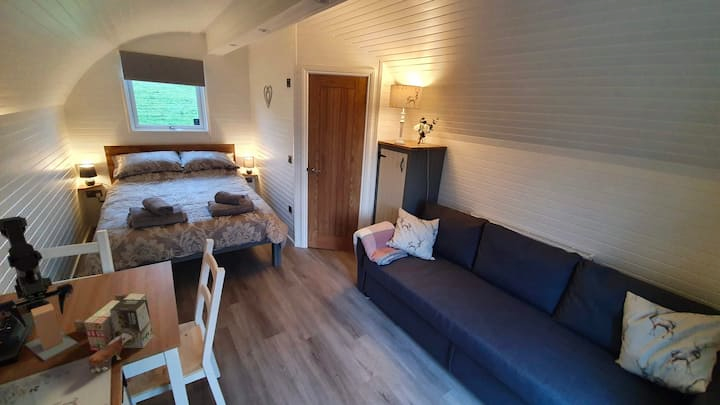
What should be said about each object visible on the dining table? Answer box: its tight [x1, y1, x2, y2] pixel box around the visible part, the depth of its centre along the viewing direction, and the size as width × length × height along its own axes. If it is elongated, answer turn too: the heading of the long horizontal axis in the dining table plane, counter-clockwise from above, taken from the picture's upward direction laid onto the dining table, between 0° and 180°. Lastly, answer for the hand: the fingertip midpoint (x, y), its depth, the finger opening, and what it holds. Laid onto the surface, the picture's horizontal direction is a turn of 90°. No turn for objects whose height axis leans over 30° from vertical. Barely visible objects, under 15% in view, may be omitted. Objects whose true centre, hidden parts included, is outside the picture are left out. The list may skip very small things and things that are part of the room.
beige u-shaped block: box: [73, 293, 129, 334], centre depth 124 cm, size 9×18×4 cm, turn 172°
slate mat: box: [25, 330, 79, 362], centre depth 109 cm, size 14×9×1 cm, turn 64°
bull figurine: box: [87, 332, 133, 374], centre depth 103 cm, size 4×13×8 cm, turn 161°
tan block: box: [31, 302, 63, 350], centre depth 107 cm, size 5×5×14 cm
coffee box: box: [110, 299, 154, 349], centre depth 111 cm, size 9×6×16 cm
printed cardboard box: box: [84, 293, 148, 352], centre depth 116 cm, size 21×6×12 cm, turn 179°
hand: (44, 320), depth 108 cm, fingers open, 9 cm apart
